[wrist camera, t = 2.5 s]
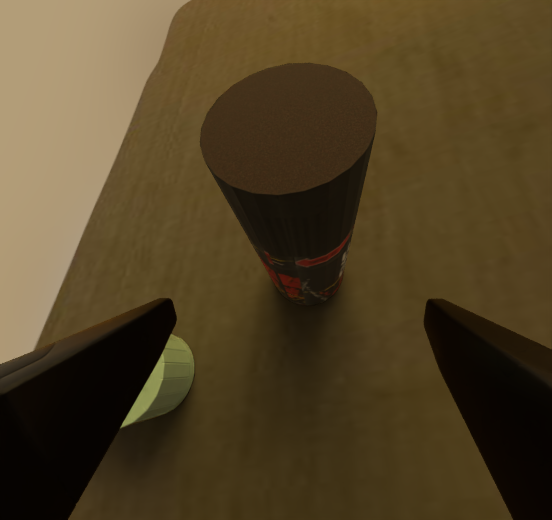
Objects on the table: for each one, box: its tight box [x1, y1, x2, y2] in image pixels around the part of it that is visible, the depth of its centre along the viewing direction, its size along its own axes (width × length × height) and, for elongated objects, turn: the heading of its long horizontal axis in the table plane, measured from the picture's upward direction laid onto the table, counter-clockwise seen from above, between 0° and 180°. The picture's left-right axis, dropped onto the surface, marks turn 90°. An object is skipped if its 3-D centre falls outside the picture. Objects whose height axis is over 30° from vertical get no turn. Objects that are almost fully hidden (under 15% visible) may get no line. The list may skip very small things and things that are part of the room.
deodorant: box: [200, 63, 377, 305], centre depth 16 cm, size 6×6×15 cm
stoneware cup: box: [120, 334, 194, 428], centre depth 19 cm, size 9×6×4 cm
